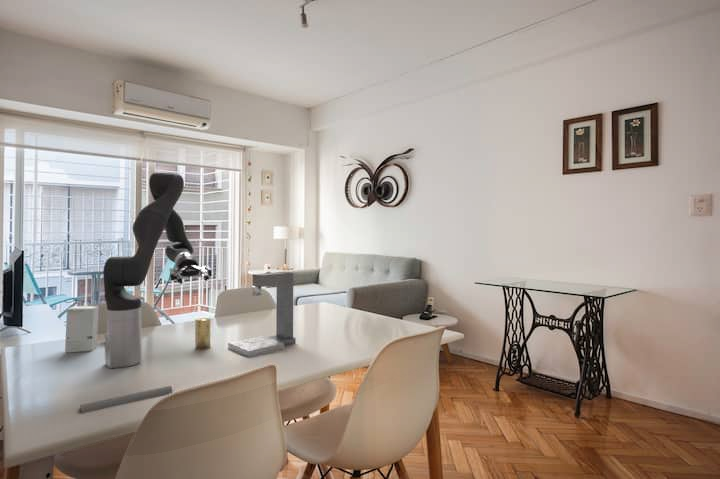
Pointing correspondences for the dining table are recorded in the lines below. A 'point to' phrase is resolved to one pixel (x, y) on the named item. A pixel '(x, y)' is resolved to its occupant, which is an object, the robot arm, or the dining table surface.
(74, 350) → the skincare box
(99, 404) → the half round rod
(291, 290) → the press
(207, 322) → the cylinder
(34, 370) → the dining table surface
